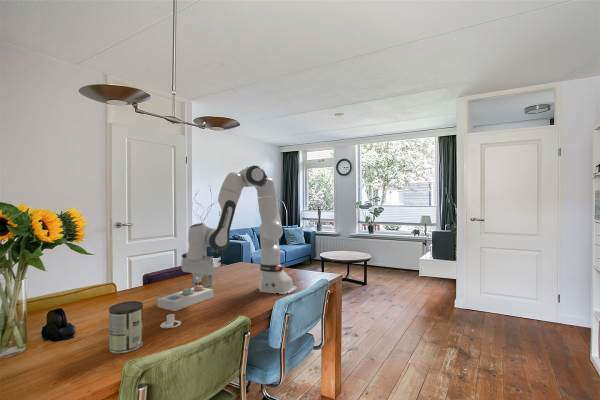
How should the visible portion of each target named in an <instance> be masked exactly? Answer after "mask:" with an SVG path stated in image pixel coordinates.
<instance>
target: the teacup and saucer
mask: <svg viewBox="0 0 600 400" xmlns="http://www.w3.org/2000/svg"><path fill="white" fill-rule="evenodd" d="M175 316H176V314H175V313H169V314H167V315H166V321H163V322H162V323H161V324H160V328H163V329H172V328H176V327H178V326H180V325H181V324H182V321H181V320H176V317H175ZM175 323H177V324H176V325H174V324H175Z"/></svg>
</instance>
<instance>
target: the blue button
mask: <svg viewBox="0 0 600 400" xmlns="http://www.w3.org/2000/svg"><path fill="white" fill-rule="evenodd" d="M178 298H179V296H171V297H169V299H170V300H175V299H178Z"/></svg>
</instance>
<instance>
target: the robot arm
mask: <svg viewBox="0 0 600 400" xmlns="http://www.w3.org/2000/svg"><path fill="white" fill-rule="evenodd" d="M245 187H246V188H249V187H250V188H251V187H254V188H255V189H256V192H257V205H258V212H259V215H260V221H261V223H260V224H259V228H258V229H259V241H260V266H259V269H260V277H259V283H258V287H257V289H258V290H259V292H260V293H271V294H276V293H279V295H288V294H291V293H294V292H296V291H297V290H298V289H297V288H298V287H297V285H296V286H295V285H294V284H293V283H294V282H293V278H292V277H291V276H290V275H289V274H287V273H286V272H285V271H284V270H283V269H284V267H285V265H284V264H283V265H282V263H281V247H280V242H279V241H280V239H281V237H282V236H283V234H284V229H283V226H282V220H281V215H280V211H279V205H278V204H279V202H278V196H277V195H278V193H277V189H276V185H275V182H274V179H273V178H271V177H268V176H267V174H266V172H265V170H264V168H262V167H261V166H259V165H255V164H254V165H250V166H247V167H246V168H244V169H242V170H241V171H239V172H229V173H227V175H226V177H225V178H224V180H223V182H222V185H221V187H220V189H219V194H218V197H217V202H218V204H219V206H220V208H221V211H220V212H221V213H220V217H219V221H218V224H217V227H216V228H213V227H211V226H209V225H207V224H205V223H203V222H201V223H200V222H199V223H195V224H192V225H190V227H189V228H188V235H187V236H188V237H187V239H188V240H187V242H188V250H187V252H184V253H182V254H181V270H182V272H184V273H190V274H192V273H193V275H192V277H193V276H194V278H195V282H201V278H202V276H203V275H214V273H215V264H214V259H213V258H212V257H211V256H208V255H207V248H208V247H209V248H212V250H214V251H216V252H217V251H219V252H220V251H224V250H225V249H227V248H228V247H229V245H230V241H231V237H230V231H231V227H232V224H233V220H234V216H235V212H236V210H237V209H236V208H237V206H238V203H239V200H240V197H241V195H242V191H243V190H244V188H245ZM197 274H198V276H199V277H198V276H197ZM287 293H288V294H287Z"/></svg>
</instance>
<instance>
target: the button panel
mask: <svg viewBox="0 0 600 400" xmlns="http://www.w3.org/2000/svg"><path fill="white" fill-rule="evenodd" d="M189 289H191V294H190V295H187V296H185V295H182V290H181V291H177V292H173V293H171V294H168V295H164V296H161V297H158V298H157V307H158V308H160V309H164V310H168V311H172V312H177V311H179V310H182V309H185V308H187V307H190V306H193V305H196V304H199V303H201V302H204V301H207V300H209V299H212V298H214V289H212V288H209V287H205V288H203V291H200V292H196V291H194V287H193V286H192V287H191V288H190V287H189ZM171 296H179V298H178V299H175V300H170V299H169V297H171Z"/></svg>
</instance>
